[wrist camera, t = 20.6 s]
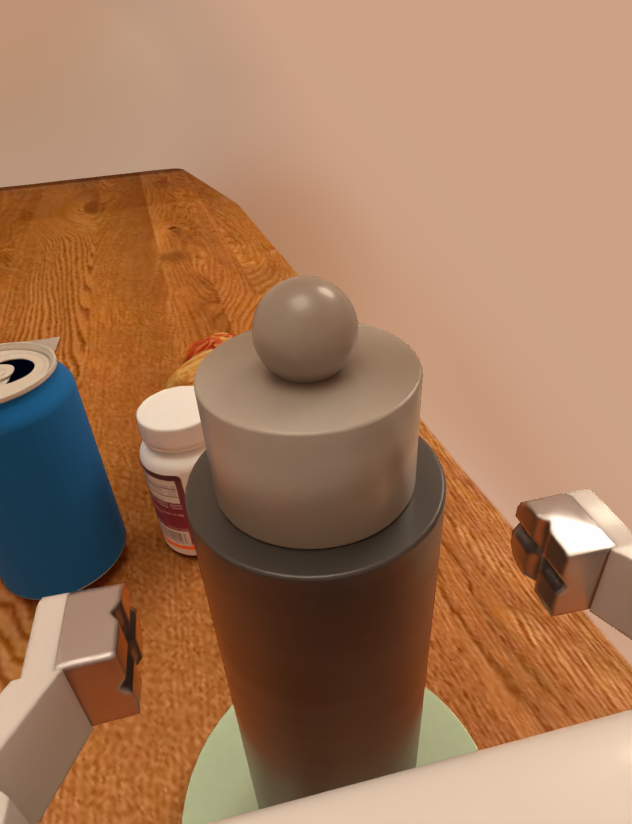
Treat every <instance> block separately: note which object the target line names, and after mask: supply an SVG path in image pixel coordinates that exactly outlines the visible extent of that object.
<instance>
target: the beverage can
mask: <svg viewBox="0 0 632 824" xmlns="http://www.w3.org/2000/svg"><path fill="white" fill-rule="evenodd" d="M125 541H126V531H125V527H124V524H123V521H122V518H121V515H120V512H119V509H118V507H117V504H116V501H115V498H114V495H113V492H112V489H111V486H110V483H109V480H108V477H107V474H106V471H105V468H104V465H103V462H102V459H101V456H100V453H99V451H98V448H97V445H96V442H95V439H94V436H93V433H92V430H91V427H90V424H89V421H88V418H87V415H86V412H85V409H84V406H83V403H82V400H81V398H80V395H79V392H78V389H77V386H76V383H75V380H74V377H73V375H72V373H71V372H70V371H69V370H68V368H67V367H65V366H64V365H63V364H61V363H60V362H58V361H57V358H56V355H55V353H54V352H53V350H51V349H50V348H49V347H47V346H44V345H41V344H37V343H31V342H11V343H2V344H0V578H1V580H2V582H3V583H4V585H5V587H6V588H7V589H8V590H9V591H11V592H12V593H14V594H15V595H17V596H20V597H23V598H27V599H34V600H41V599H42V597H48V596H53V595H59V594H64V593H70V592H74V591H79V590H81V589H83V588H85V587H87V586H88V585H90V584H92V583H93V582H95V581H96V580H98V579H99V578H100V577H102V576H103V575H104V574H105V573H106V572H107V571H108V570H109V569H110V568H111V567H112V566H113V565H114V564H115V562H116V561H117V560H118V558H119V556H120V555H121V553H122V551H123V548H124V545H125Z"/></svg>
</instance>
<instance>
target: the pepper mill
mask: <svg viewBox="0 0 632 824" xmlns="http://www.w3.org/2000/svg"><path fill="white" fill-rule="evenodd" d="M422 378H423V374H422V366H421V363H420V360H419V358H418V356H417V355H416V353H415V352H414V350H413V349H412V348H411V347H410V346H409V345H408V344H406V343H405V342H404V341H403V340H401V339H400V338H398V337H396V336H395V335H393V334H391V333H389V332H387V331H384V330H382V329H379V328H376V327H373V326H369V325H366V324H361V323H358V320H357V316H356V312H355V310H354V307H353V305H352V303H351V302H350V300H349V299H348V297H347V296H346V295H345V293H344V292H343V291H342V290H341V289H339V288H338V287H337V286H335V285H334V284H333V283H331V282H329V281H327V280H324V279H321V278H318V277H314V276H296V277H291V278H288V279H286V280H283V281H281V282H279V283H278V284H276V285H274V286H273V287H272V288H271V289H270V290H268V291H267V292H266V294H265V295H264V296H263V297H262V298H261V300H260V302H259V303H258V305H257V307H256V310H255V312H254V316H253V321H252V330H249V331H246V332H244V333H241V334H239V335H237V336H234V337H232V338H230V339H229V340H227V341H225V342H223V343H222V344H220V345H219V346H217V347H216V348H214V349H213V350H212V351H211V352H210V353H209V354H208V355H207V356H206V357H205V358H204V359H203V360H202V362H201V363H200V365H199V367H198V368H197V371H196V374H195V377H194V391H195V396H196V401H197V406H198V411H199V416H200V421H201V426H202V431H203V436H204V441H205V446H206V450H205V451H204V452H203V453H202V454H201V455H200V457H199V458H198V460H197V461H196V463H195V464H194V466H193V468H192V471H191V473H190V475H189V478H188V482H187V485H186V490H185V508H186V514H187V518H188V522H189V526H190V530H191V534H192V538H193V542H194V546H195V551H196V555H197V559H198V563H199V567H200V571H201V575H202V579H203V583H204V587H205V591H206V595H207V599H208V604H209V608H210V612H211V616H212V620H213V624H214V628H215V632H216V636H217V640H218V644H219V648H220V652H221V657H222V661H223V665H224V669H225V673H226V677H227V681H228V685H229V689H230V693H231V697H232V701H233V705H234V709H235V714H236V718H237V722H238V726H239V730H240V734H241V738H242V742H243V746H244V750H245V754H246V758H247V762H248V767H249V771H250V775H251V779H252V783H253V787H254V791H255V795H256V799H257V803H258V807H259V809H263V808H267V807H270V806H274V805H278V804H281V803H285V802H289V801H293V800H296V799H300V798H304V797H307V796H311V795H315V794H319V793H322V792H326V791H330V790H333V789H337V788H341V787H345V786H348V785H352V784H356V783H359V782H363V781H367V780H371V779H374V778H378V777H382V776H386V775H389V774H393V773H397V772H400V771H404V770H408V769H412V768H415V767H416V763H417V754H418V745H419V736H420V727H421V718H422V709H423V700H424V690H425V681H426V672H427V663H428V654H429V645H430V636H431V627H432V618H433V609H434V600H435V590H436V581H437V572H438V563H439V554H440V545H441V536H442V527H443V518H444V509H445V499H446V479H445V475H444V472H443V468H442V466H441V464H440V462H439V460H438V458H437V456H436V454H435V453H434V451H433V450H432V449H431V447H430V446H429V445H428V444H427V443H426V442H425V441H424V440H423V439H422V438H421V437H420V436H419V422H420V407H421V391H422Z"/></svg>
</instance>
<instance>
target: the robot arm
mask: <svg viewBox="0 0 632 824" xmlns="http://www.w3.org/2000/svg"><path fill="white" fill-rule="evenodd" d="M516 517H517V518H518V520H519V521H520V523H519V524H518V525H517V526H516V527H515V529H514V530H513V531H512V537H511V547H512V553H513V556H514V559H515V561H516V563H517V565H518V567H519V568H520V570H521V571H522V573H523V574H524V575H526V576H528V577H530V578H532V579H533V580H535V588H534V591H535V593H536V594H537V596H538V597H539V599H540V600H541V601H542V603H543V604H544V606H545V607H546V609H547V610H548V612H549V613H550V615H551V616H557V615H562V614H567V613H572V612H576V611H581V610H586V609H590V612H592V613H593V614H595V615H596V616H598V617H599V618H601V619H602V620H604V621H605V622H606V623H608V624H609V625H611V626H612V627H614V628H615V629H617V630H618V631H620V632H621V633H623V634H624V635H626V636H627V637H628V638H630V639H631V640H632V532H631V531H630V530H629V529H628V528H627V527H626V526H625V525H624V524H623V523H622V521H621V520H620V519H619V518H618V517H617V516H616V515H615V514H614V513H613V512H612V511H611V510H610V509H609V508H608V507H607V506H606V505H605V503H603V501H602V500H601V499H600V498H599V497H598V496H597V495H596V494H595V493H594V492H593V491H591V490H589V489H584V490H579V491H574V492H569V493H565V494H558V495H553V496H548V497H544V498H539V499H534V500H530V501H525V502H521V503H520V505H519V506H518V507H517V512H516ZM130 601H131V593H130V591H129V588H128V586H127V584H126V583H119V584H114V585H108V586H102V587H96V588H91V589H85V590H79V591H74V592H70V593H64V594H59V595H53V596H48V597H42V599H41V600H40V602H39V603H38V605H37V608H36V612H35V616H34V621H33V625H32V629H31V634H30V638H29V642H28V647H27V651H26V655H25V659H24V664H23V668H22V672H21V677H20V679H16V680H12V681H11V682H10V683H9V684H8V685H7V686H6V687H5V689H4V690H3V691H2V692H1V693H0V824H38V823H39V822H40V820H41V818H42V817H43V815H44V813H45V811H46V810H47V808H48V806H49V804H50V803H51V801H52V799H53V798H54V796H55V794H56V792H57V791H58V789H59V787H60V785H61V784H62V782H63V780H64V779H65V777H66V775H67V773H68V772H69V770H70V768H71V766H72V765H73V763H74V761H75V759H76V758H77V756H78V754H79V753H80V751H81V749H82V747H83V746H84V744H85V742H86V740H87V739H88V737H89V735H90V734H91V732H92V730H93V727H92V726H95V725H98V724H102V723H106V722H110V721H114V720H117V719H121V718H125V717H129V716H133V715H136V714H140V702H141V677H140V674H139V672H138V669H137V667H136V666H137V665H138V663H139V662H140V661H141V659H142V654H143V641H142V629H141V624H140V619H139V616H138V613H137V610H136V609H135V608H133V607H131V606H130ZM207 824H632V709H631V710H628V711H624V712H620V713H617V714H613V715H609V716H605V717H602V718H598V719H594V720H590V721H587V722H583V723H579V724H576V725H572V726H568V727H564V728H561V729H557V730H553V731H549V732H546V733H542V734H538V735H534V736H531V737H527V738H523V739H520V740H516V741H512V742H508V743H505V744H501V745H497V746H493V747H490V748H486V749H482V750H479V751H475V752H471V753H467V754H464V755H460V756H456V757H452V758H449V759H445V760H441V761H438V762H434V763H430V764H426V765H423V766H419V767H415V768H412V769H408V770H404V771H400V772H397V773H393V774H389V775H386V776H382V777H378V778H374V779H371V780H367V781H363V782H359V783H356V784H352V785H348V786H345V787H341V788H337V789H333V790H330V791H326V792H322V793H319V794H315V795H311V796H307V797H304V798H300V799H296V800H293V801H289V802H285V803H281V804H278V805H274V806H270V807H267V808H263V809H259V810H255V811H252V812H248V813H244V814H241V815H237V816H233V817H229V818H226V819H222V820H218V821H215V822H211V823H207Z"/></svg>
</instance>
